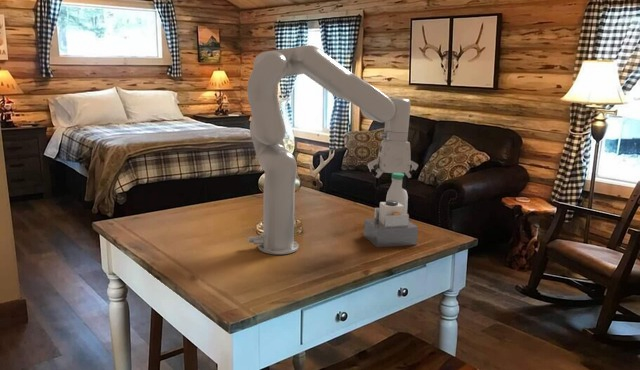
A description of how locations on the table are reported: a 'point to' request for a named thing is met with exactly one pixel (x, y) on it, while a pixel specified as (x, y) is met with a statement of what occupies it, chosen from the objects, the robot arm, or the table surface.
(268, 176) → the robot arm
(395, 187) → the milk bottle
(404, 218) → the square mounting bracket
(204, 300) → the table surface
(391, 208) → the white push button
